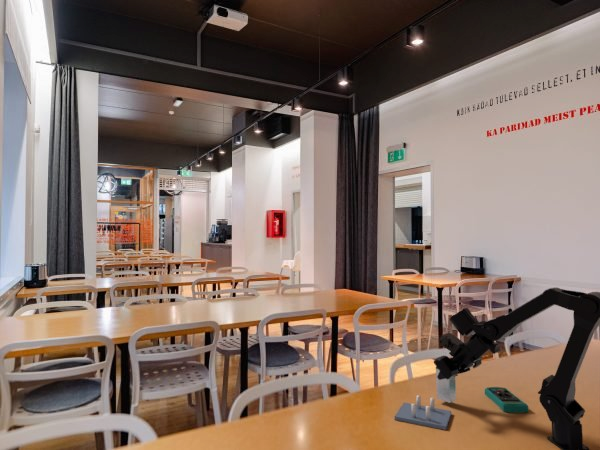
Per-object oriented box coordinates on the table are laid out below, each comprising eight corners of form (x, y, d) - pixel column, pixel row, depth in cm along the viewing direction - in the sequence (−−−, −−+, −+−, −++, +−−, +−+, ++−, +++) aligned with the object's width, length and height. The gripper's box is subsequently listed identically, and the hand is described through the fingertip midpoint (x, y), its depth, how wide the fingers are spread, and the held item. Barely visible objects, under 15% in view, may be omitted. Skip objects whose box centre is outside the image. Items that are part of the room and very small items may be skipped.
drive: (456, 400, 124) (454, 367, 124) (449, 402, 121) (448, 370, 122) (442, 395, 127) (441, 364, 128) (436, 398, 125) (435, 366, 125)
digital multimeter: (506, 395, 132) (505, 386, 132) (529, 414, 117) (529, 404, 117) (483, 395, 132) (483, 386, 132) (504, 414, 117) (503, 404, 117)
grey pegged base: (451, 414, 117) (451, 398, 117) (445, 430, 107) (445, 413, 107) (403, 405, 123) (403, 390, 123) (394, 419, 114) (394, 403, 114)
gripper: (470, 322, 128) (441, 349, 136) (438, 330, 116) (408, 360, 125) (496, 351, 122) (463, 378, 130) (464, 364, 110) (431, 393, 118)
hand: (441, 376), depth 126 cm, fingers closed on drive, 3 cm apart
